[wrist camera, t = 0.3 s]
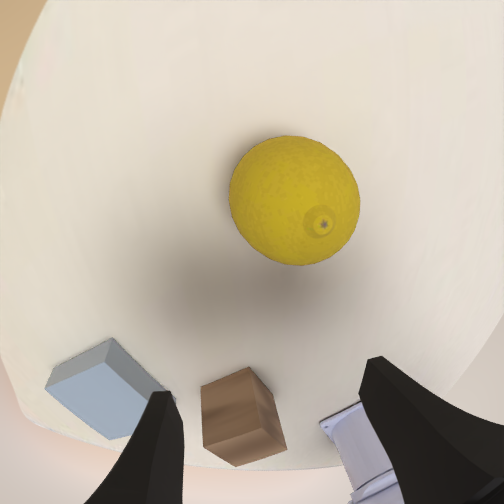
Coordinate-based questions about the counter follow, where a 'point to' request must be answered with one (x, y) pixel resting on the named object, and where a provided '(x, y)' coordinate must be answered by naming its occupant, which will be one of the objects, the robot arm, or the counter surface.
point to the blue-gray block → (104, 389)
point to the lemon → (294, 200)
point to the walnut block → (240, 419)
